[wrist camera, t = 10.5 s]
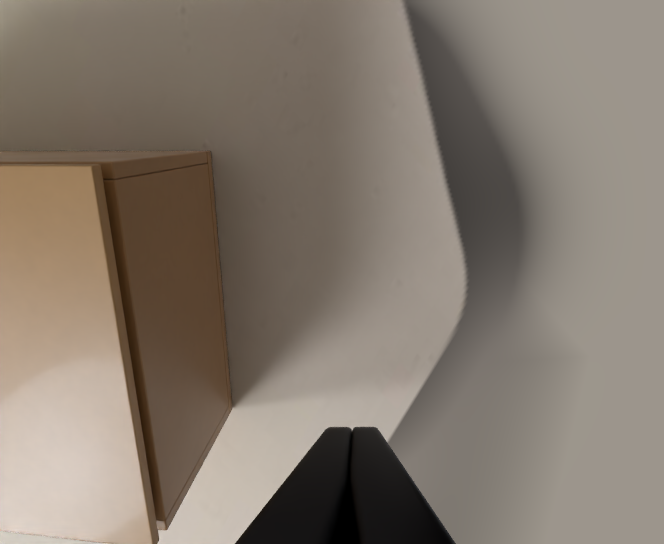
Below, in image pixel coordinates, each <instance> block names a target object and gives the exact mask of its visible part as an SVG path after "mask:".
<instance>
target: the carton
mask: <svg viewBox="0 0 664 544" xmlns="http://www.w3.org/2000/svg"><path fill="white" fill-rule="evenodd" d="M0 164H98V165H100V166H101V171H102V178H103V184H104V190H105V197H106V203H107V210H108V216H109V222H110V229H111V235H112V241H113V248H114V254H115V261H116V267H117V273H118V280H119V286H120V293H121V299H122V305H123V312H124V318H125V325H126V331H127V337H128V344H129V350H130V356H131V363H132V369H133V376H134V382H135V388H136V395H137V401H138V408H139V414H140V420H141V427H142V433H143V440H144V446H145V452H146V459H147V465H148V471H149V478H150V484H151V491H152V497H153V503H154V510H155V516H156V523H157V529H158V530H167V529H168V527H169V525H170V524H171V522H172V520H173V518H174V516H175V514H176V512H177V511H178V509H179V507H180V505H181V503H182V501H183V499H184V498H185V496H186V494H187V492H188V490H189V488H190V486H191V485H192V483H193V481H194V479H195V477H196V475H197V473H198V472H199V470H200V468H201V466H202V464H203V462H204V460H205V459H206V457H207V455H208V453H209V451H210V449H211V447H212V446H213V444H214V442H215V440H216V438H217V436H218V434H219V433H220V431H221V429H222V427H223V425H224V423H225V421H226V420H227V418H228V416H229V414H230V412H231V410H232V399H231V387H230V375H229V364H228V352H227V340H226V328H225V316H224V304H223V292H222V280H221V268H220V256H219V244H218V232H217V220H216V208H215V196H214V184H213V172H212V161H211V151H0Z"/></svg>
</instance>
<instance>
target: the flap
mask: <svg viewBox="0 0 664 544" xmlns="http://www.w3.org/2000/svg"><path fill="white" fill-rule="evenodd" d="M0 531H5V532H13V533H22V534H30V535H39V536H47V537H56V538H64V539H73V540H81V541H90V542H98V543H107V544H157V543H158V541H159V535H158V529H157V523H156V516H155V510H154V503H153V497H152V491H151V484H150V478H149V471H148V465H147V459H146V452H145V446H144V440H143V433H142V427H141V420H140V414H139V408H138V401H137V395H136V388H135V382H134V376H133V369H132V363H131V356H130V350H129V344H128V337H127V331H126V325H125V318H124V312H123V305H122V299H121V293H120V286H119V280H118V273H117V267H116V261H115V254H114V248H113V241H112V235H111V229H110V222H109V216H108V210H107V203H106V197H105V190H104V184H103V178H102V171H101V166H100V165H98V164H0Z"/></svg>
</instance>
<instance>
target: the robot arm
mask: <svg viewBox="0 0 664 544" xmlns="http://www.w3.org/2000/svg"><path fill="white" fill-rule="evenodd" d="M235 544H456V543H455V542H454V540H453V539H452V538H451V536H450V535H449V533H448V532H447V530H446V529H445V527H444V526H443V524H442V523H441V521H440V520H439V518H438V517H437V516H436V514H435V512H434V511H433V510H432V508H431V507H430V505H429V504H428V502H427V501H426V499H425V498H424V496H423V495H422V493H421V492H420V491H419V489H418V488H417V486H416V485H415V483H414V481H413V480H412V479H411V477H410V476H409V474H408V473H407V471H406V470H405V468H404V467H403V465H402V464H401V462H400V461H399V459H398V458H397V456H396V455H395V453H394V452H393V450H392V449H391V448H390V446H389V445H388V443H387V442H386V440H385V439H384V437H383V436H382V434H381V433H380V431H379V430H378V429H377V428H376V427H355V428H354V429H353V430H351V429H350V428H349V427H329V428H327V429H326V430H325V431H324V432H323V434H322V435H321V436H320V437H319V439H318V440H317V441H316V442H315V444H314V445H313V446H312V447H311V449H310V450H309V451H308V452H307V454H306V455H305V456H304V457H303V459H302V460H301V461H300V463H299V464H298V465H297V466H296V468H295V469H294V470H293V471H292V473H291V474H290V475H289V476H288V478H287V479H286V480H285V481H284V483H283V484H282V485H281V486H280V488H279V489H278V490H277V491H276V493H275V494H274V495H273V496H272V498H271V499H270V500H269V502H268V503H267V504H266V505H265V507H264V508H263V509H262V510H261V512H260V513H259V514H258V515H257V517H256V518H255V519H254V520H253V522H252V523H251V524H250V525H249V527H248V528H247V529H246V530H245V532H244V533H243V534H242V536H241V537H240V538H239V539H238V541H237V542H236V543H235Z"/></svg>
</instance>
